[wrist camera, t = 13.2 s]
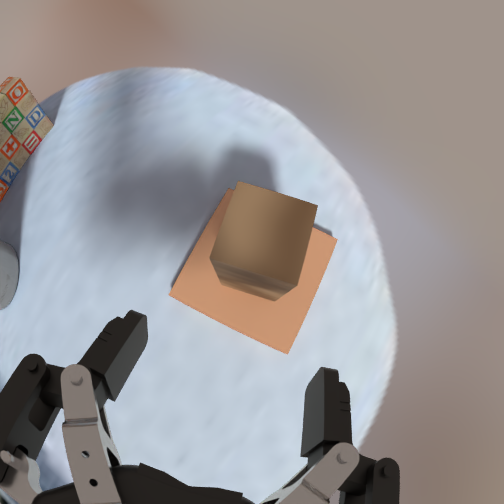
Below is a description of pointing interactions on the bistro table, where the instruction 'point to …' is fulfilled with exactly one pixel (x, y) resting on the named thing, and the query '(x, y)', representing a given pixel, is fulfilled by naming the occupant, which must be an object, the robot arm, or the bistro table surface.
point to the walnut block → (262, 241)
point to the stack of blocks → (18, 129)
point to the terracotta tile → (247, 305)
